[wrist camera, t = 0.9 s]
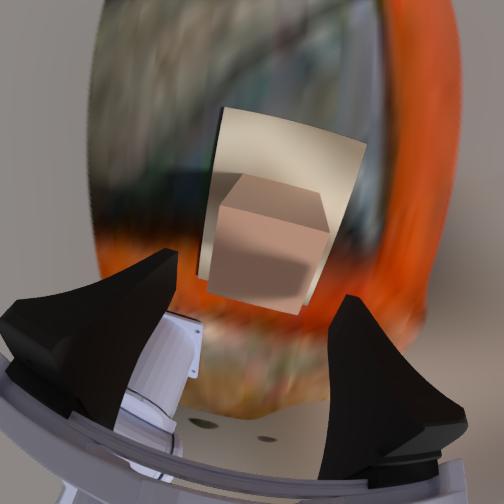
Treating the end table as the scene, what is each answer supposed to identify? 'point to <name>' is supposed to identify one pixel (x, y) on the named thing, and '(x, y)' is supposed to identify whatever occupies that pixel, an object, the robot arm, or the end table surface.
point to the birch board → (281, 169)
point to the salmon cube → (267, 244)
